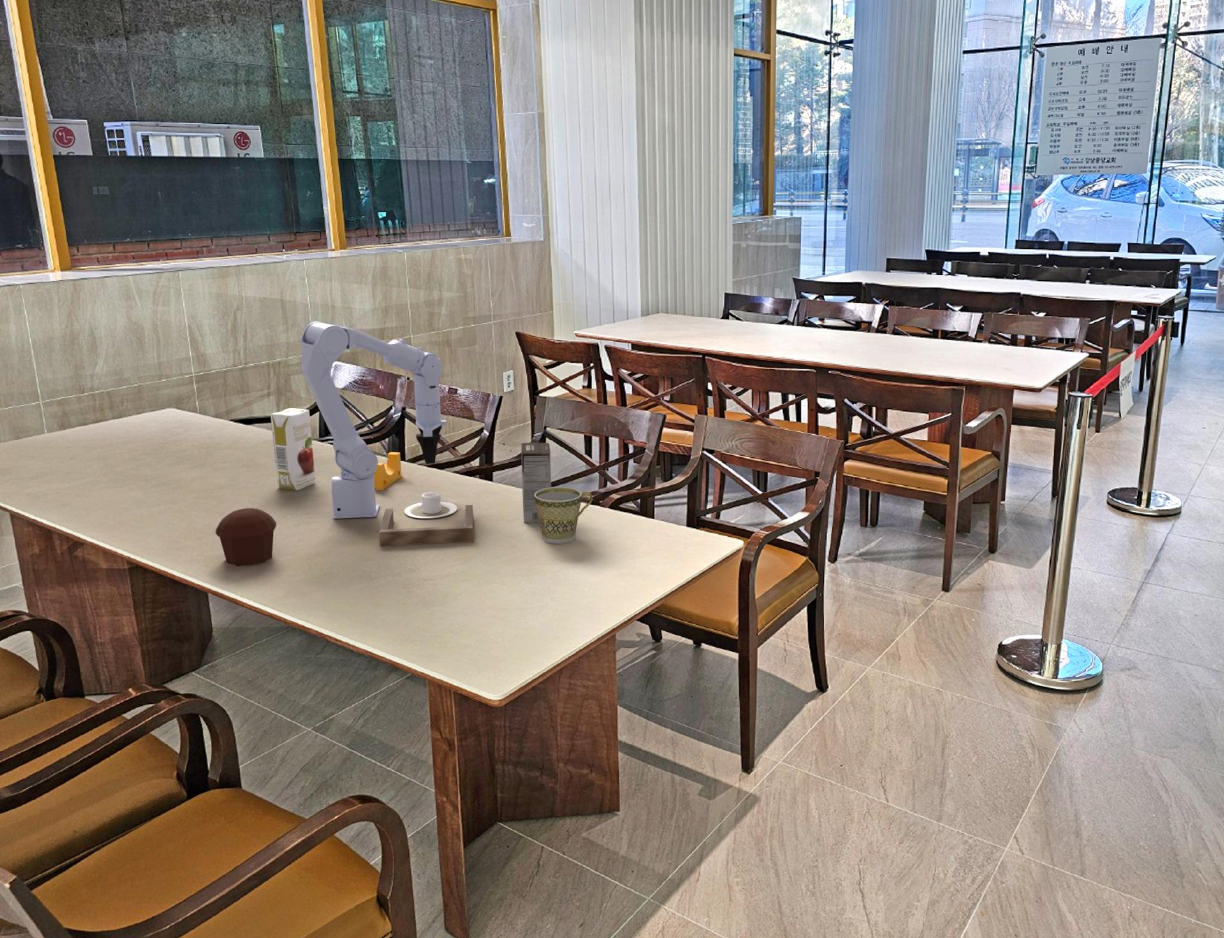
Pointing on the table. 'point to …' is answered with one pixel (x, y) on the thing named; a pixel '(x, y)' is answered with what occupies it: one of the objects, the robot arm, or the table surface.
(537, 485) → the coffee box
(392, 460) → the yellow notched block
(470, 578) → the table surface
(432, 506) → the candle holder
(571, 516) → the ceramic cup
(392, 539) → the walnut cradle
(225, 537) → the muffin
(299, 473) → the juice carton
